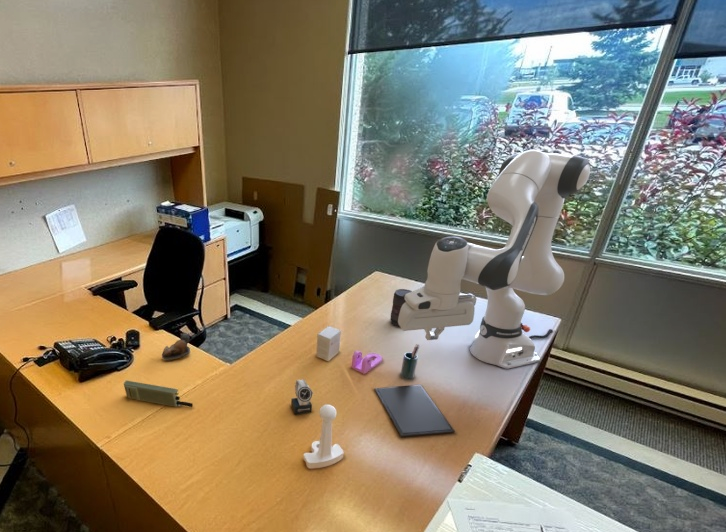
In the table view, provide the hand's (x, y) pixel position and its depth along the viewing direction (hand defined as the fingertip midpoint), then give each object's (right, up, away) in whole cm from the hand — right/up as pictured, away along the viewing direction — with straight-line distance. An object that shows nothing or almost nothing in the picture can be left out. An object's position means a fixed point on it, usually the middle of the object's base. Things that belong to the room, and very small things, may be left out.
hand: (431, 338), depth 121 cm
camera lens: (+15, +3, +58) cm, 60 cm away
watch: (-35, -24, +16) cm, 45 cm away
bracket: (-6, -12, +35) cm, 37 cm away
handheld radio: (-83, -23, +24) cm, 90 cm away
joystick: (-32, -34, -1) cm, 47 cm away
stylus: (+5, -14, +28) cm, 31 cm away
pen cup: (+5, -15, +27) cm, 31 cm away
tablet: (0, -24, +12) cm, 27 cm away
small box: (-20, -9, +42) cm, 47 cm away
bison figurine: (-80, -10, +47) cm, 93 cm away
